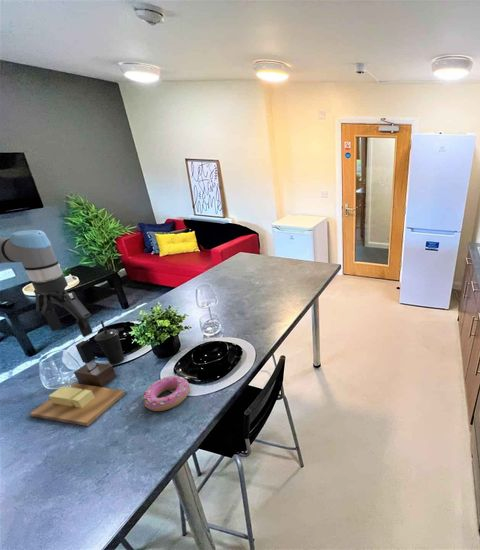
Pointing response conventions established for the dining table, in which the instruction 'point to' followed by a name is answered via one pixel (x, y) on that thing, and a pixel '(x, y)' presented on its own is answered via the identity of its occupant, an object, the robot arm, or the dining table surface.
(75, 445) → the dining table surface
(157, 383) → the donut
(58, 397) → the butter stick
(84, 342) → the knife
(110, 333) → the drinking cup
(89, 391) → the butter pat
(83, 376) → the knife block
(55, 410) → the board
